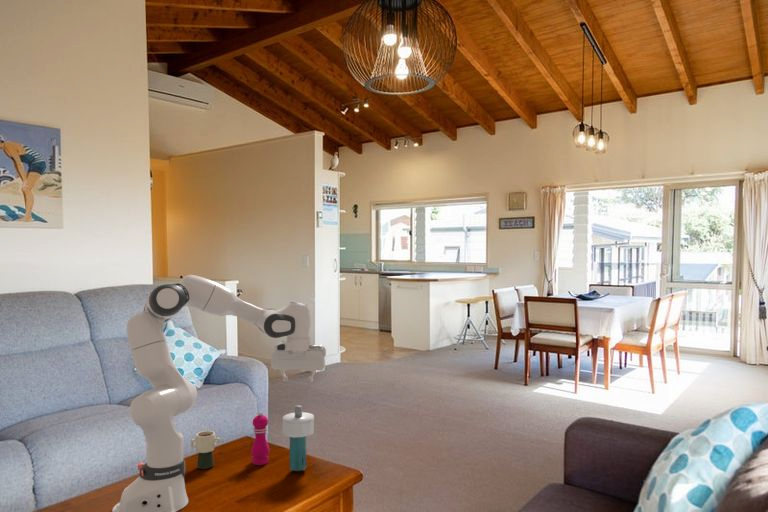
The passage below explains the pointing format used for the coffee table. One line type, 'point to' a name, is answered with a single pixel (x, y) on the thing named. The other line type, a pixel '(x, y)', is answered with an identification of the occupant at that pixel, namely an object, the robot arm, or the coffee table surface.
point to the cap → (298, 423)
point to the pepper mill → (260, 440)
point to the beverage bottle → (297, 453)
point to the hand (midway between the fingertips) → (298, 381)
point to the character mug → (205, 448)
